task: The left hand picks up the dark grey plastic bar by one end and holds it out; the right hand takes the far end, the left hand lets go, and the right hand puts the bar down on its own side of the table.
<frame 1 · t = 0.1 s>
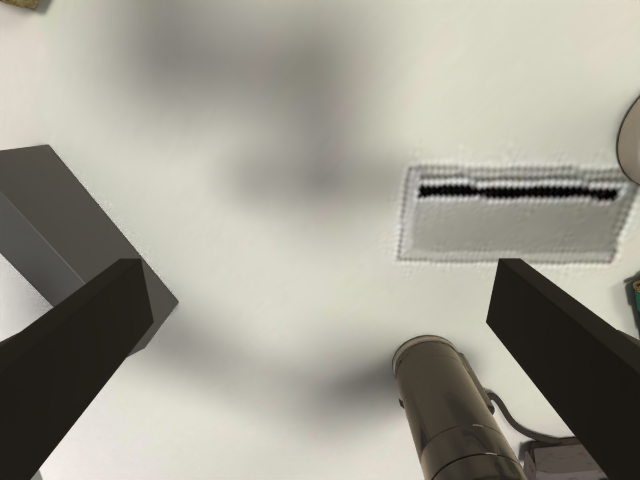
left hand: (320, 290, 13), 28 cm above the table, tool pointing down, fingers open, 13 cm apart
toy: (591, 475, 57), on the table
bar: (104, 239, 42), on the table
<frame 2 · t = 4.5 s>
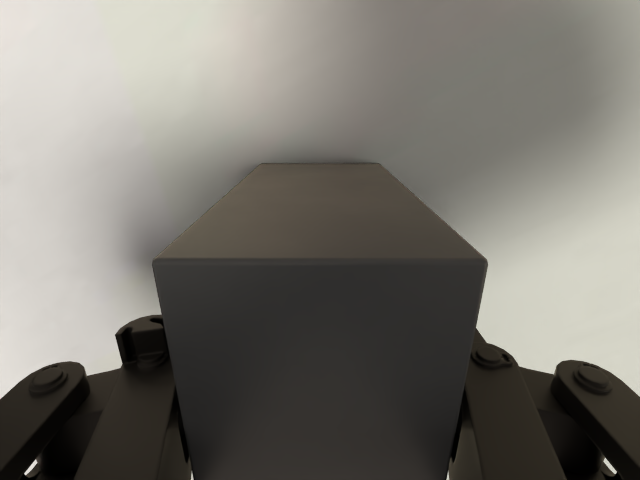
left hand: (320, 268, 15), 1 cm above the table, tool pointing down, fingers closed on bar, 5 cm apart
bar: (320, 390, 18), on the table, touching left hand
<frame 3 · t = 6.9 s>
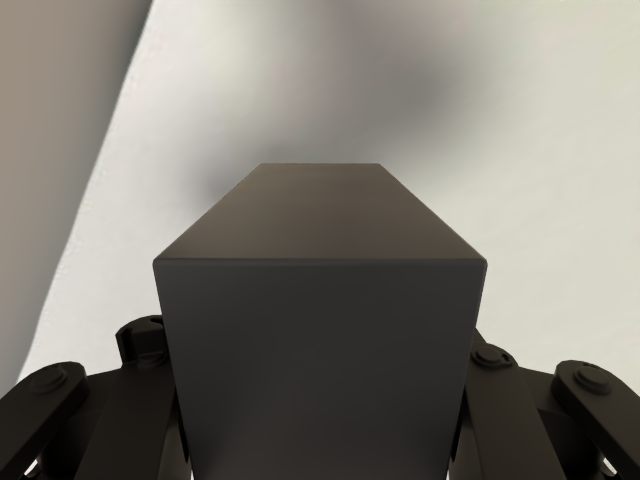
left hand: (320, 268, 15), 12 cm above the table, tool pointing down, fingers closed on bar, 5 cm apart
bar: (320, 390, 18), point 12 cm above the table, touching left hand
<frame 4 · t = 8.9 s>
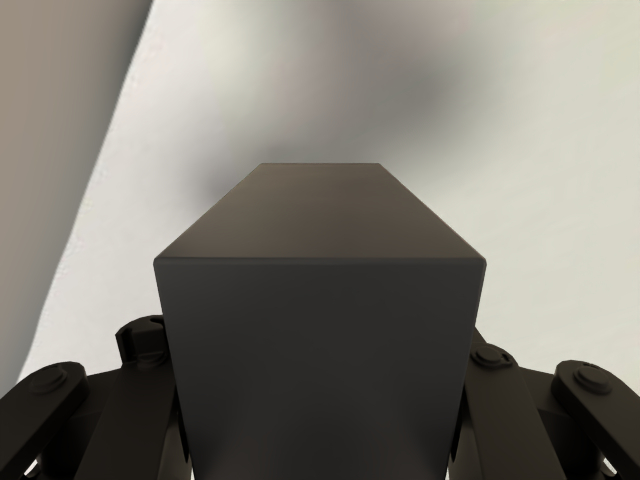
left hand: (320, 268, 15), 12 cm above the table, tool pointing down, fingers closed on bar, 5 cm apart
bar: (320, 390, 18), point 12 cm above the table, touching left hand, right hand
when the left hand's fingers open (12 cm above the table, at t = 9.6 s): bar stays where it is, held by the right hand.
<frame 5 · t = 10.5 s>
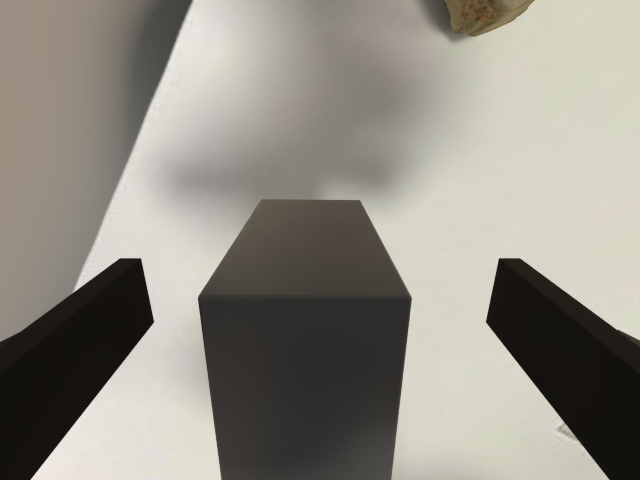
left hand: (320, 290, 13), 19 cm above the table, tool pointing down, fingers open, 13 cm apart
bar: (310, 390, 20), point 14 cm above the table, touching right hand
when the right hand's fingers open (6 cm above the table, at t = 16.2 s): bar drops 1 cm, on the table.
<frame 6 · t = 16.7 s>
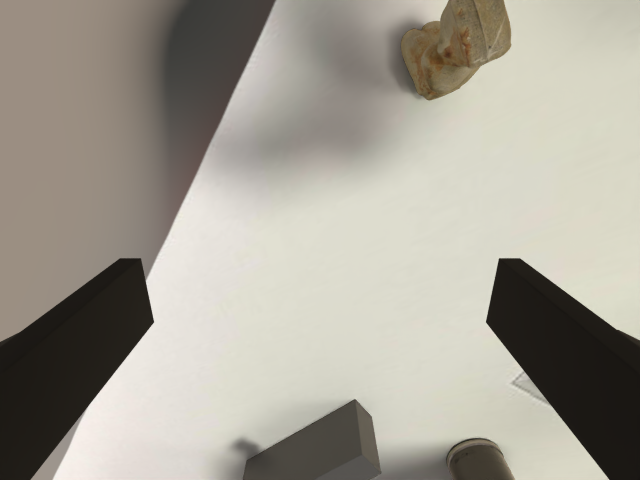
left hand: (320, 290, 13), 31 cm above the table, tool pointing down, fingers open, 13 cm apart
sculpture: (424, 64, 37), on the table
bar: (307, 439, 58), on the table
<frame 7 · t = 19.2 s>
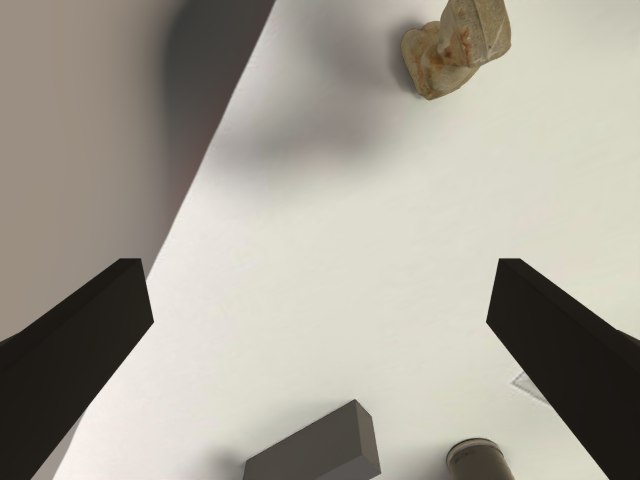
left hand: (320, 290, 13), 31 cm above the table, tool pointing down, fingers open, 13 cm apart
sculpture: (424, 64, 37), on the table
bar: (307, 439, 58), on the table
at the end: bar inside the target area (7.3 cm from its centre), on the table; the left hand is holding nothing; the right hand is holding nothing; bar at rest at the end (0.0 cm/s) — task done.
